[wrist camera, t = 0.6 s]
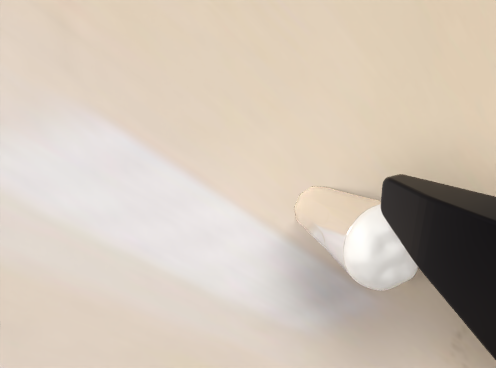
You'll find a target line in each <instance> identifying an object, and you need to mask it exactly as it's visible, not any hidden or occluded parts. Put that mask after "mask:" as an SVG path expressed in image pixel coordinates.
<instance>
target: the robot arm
mask: <svg viewBox="0 0 496 368" xmlns="http://www.w3.org/2000/svg"><path fill="white" fill-rule="evenodd" d="M381 212H382V214H383V216H384V218H385V219H386V221H387V222H388V224H389V225H390V227H391V228H392V230H393V231H394V233H395V234H396V236H397V237H398V239H399V240H400V242H401V243H402V245H403V246H404V248H405V249H406V251H407V252H408V253H409V255H410V256H411V258H412V259H413V261H414V262H415V263H416V265H417V266H418V267H419V268H420V270H421V271H422V272H423V273H424V275H425V276H426V277H427V278H428V279H429V281H430V282H431V283H432V284H433V285H434V287H435V288H436V289H437V290H438V291H439V293H440V294H441V295H442V296H443V297H444V299H445V300H446V301H447V302H448V303H449V305H450V306H451V307H452V308H453V309H454V311H455V312H456V313H457V314H458V315H459V317H460V318H461V319H462V320H463V322H464V323H465V324H466V325H467V326H468V328H469V329H470V330H471V331H472V332H473V334H474V335H475V336H476V337H477V338H478V340H479V341H480V342H481V343H482V344H483V346H484V347H485V348H486V349H487V350H488V352H489V353H490V354H491V355H492V356H493V358H494V359H495V360H496V197H494V196H490V195H486V194H482V193H478V192H473V191H469V190H465V189H461V188H457V187H453V186H449V185H444V184H440V183H436V182H432V181H428V180H424V179H419V178H415V177H411V176H407V175H403V174H399V175H395V176H391V177H387V178H386V179H385V180H384V181H383V186H382V196H381Z"/></svg>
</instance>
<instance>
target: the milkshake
mask: <svg viewBox="0 0 496 368" xmlns="http://www.w3.org/2000/svg"><path fill="white" fill-rule="evenodd" d="M294 209H295V215H296V220H297V222H298V223H299V224H300V225H301V226H302V227H303V228H304V229H306V230H307V231H308V232H309V233H310V234H311V235H312V236H313V237H314V238H315V239H316V240H317V241H318V242H319V243H320V244H321V245H322V246H323V247H324V248H325V249H326V250H327V251H328V252H329V253H330V254H331V255H332V257H333V258H334V259H335V260H336V261H337V262H338V263H339V264H340V265H341V266H342V267H343V268H344V269H345V271H346V272H347V273H348V274H349V275H350V276H351V277H352V278H353V279H354V280H355V281H356V282H358V283H359V284H361V285H362V286H364V287H367V288H370V289H374V290H388V289H391V288H394V287H396V286H398V285H400V284H402V283H404V282H406V281H408V280H410V279H412V278H413V277H414V275H415V274H416V271H417V268H418V266H417V265H416V263H415V262H414V261H413V259H412V258H411V256H410V255H409V253H408V252H407V251H406V249H405V248H404V246H403V245H402V243H401V242H400V240H399V239H398V237H397V236H396V234H395V233H394V231H393V230H392V228H391V227H390V225H389V224H388V222H387V221H386V219H385V218H384V216H383V214H382V212H381V201H380V200H375V199H371V198H366V197H362V196H358V195H354V194H350V193H346V192H342V191H339V190H335V189H331V188H327V187H315V186H311V187H310V188H308V189H307V190H305V191H304V192H302V193H301V194H300V195H299V197H298V200H297V202H296V204H295V206H294Z"/></svg>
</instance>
